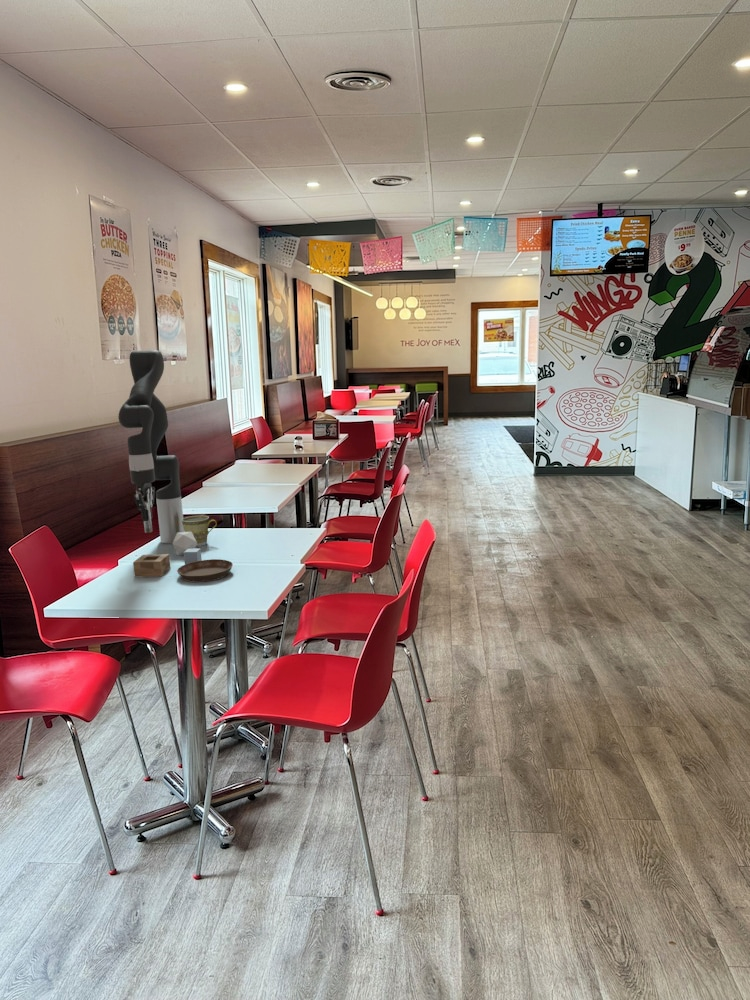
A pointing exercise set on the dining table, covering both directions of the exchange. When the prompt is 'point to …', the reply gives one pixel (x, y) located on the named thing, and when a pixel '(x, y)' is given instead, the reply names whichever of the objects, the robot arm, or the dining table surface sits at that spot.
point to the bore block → (151, 565)
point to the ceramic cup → (198, 527)
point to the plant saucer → (205, 570)
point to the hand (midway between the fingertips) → (147, 519)
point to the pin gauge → (148, 523)
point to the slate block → (192, 555)
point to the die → (184, 542)
